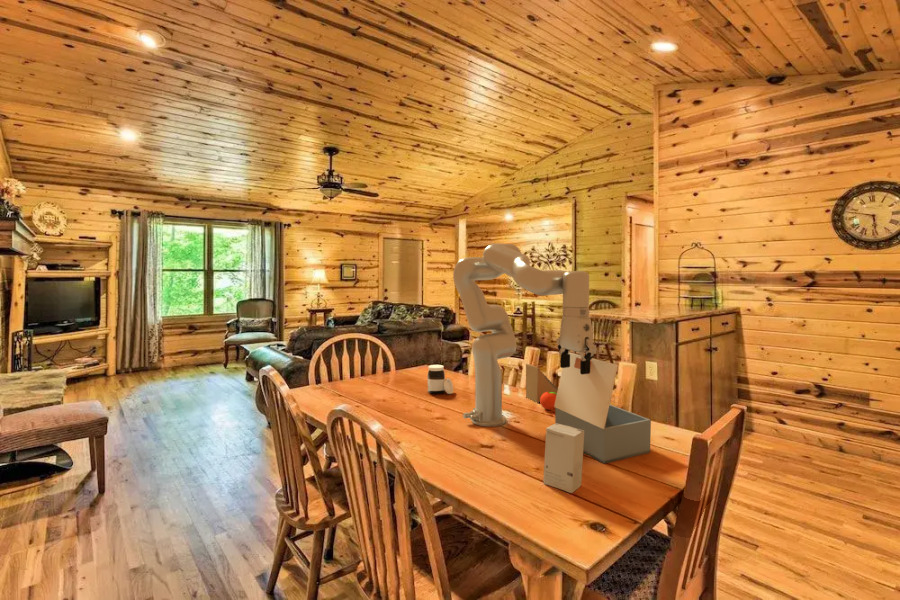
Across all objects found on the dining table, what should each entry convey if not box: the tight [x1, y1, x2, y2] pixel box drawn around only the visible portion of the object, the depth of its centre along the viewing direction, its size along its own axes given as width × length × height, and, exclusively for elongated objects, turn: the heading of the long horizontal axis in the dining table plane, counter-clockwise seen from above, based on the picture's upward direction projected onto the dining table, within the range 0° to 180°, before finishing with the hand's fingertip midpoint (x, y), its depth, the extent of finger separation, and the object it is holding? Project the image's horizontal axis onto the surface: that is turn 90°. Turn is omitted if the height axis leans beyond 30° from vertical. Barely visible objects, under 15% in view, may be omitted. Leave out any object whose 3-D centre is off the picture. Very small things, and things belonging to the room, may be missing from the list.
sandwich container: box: [525, 363, 558, 404], centre depth 191 cm, size 9×15×15 cm, turn 115°
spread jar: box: [427, 364, 454, 395], centre depth 202 cm, size 12×11×12 cm
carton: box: [554, 404, 652, 465], centre depth 141 cm, size 18×22×10 cm
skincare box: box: [543, 423, 584, 494], centre depth 116 cm, size 8×6×15 cm
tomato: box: [539, 392, 557, 411], centre depth 176 cm, size 8×7×7 cm
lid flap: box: [554, 351, 619, 429], centre depth 137 cm, size 18×22×5 cm
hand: (574, 370), depth 136 cm, fingers open, 8 cm apart
